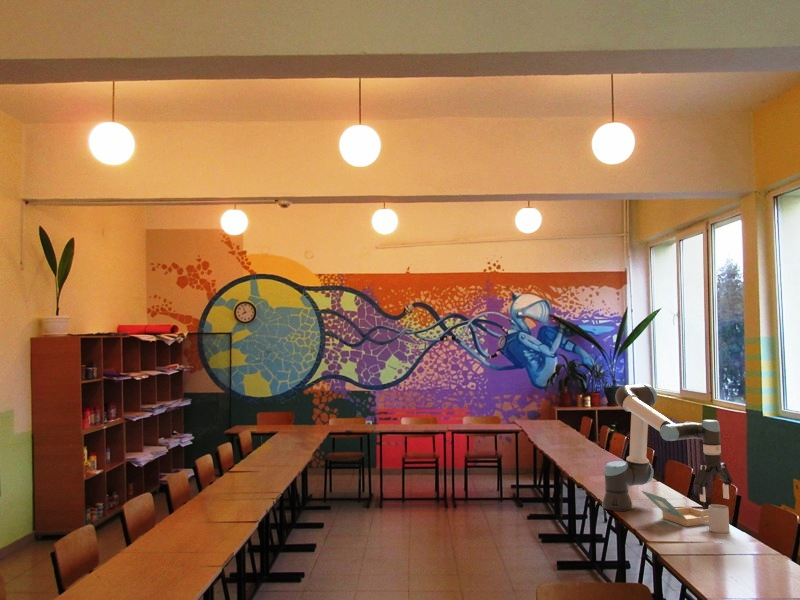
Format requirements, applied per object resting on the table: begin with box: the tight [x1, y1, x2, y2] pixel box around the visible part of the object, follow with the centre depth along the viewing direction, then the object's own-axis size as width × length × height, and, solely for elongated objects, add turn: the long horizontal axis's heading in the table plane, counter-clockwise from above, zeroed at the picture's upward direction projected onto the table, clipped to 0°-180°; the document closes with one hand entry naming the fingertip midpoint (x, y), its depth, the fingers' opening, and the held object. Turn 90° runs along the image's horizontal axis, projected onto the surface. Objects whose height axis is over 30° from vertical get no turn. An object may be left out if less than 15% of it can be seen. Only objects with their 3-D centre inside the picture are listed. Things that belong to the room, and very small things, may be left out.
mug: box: [701, 503, 730, 534], centre depth 316 cm, size 12×8×11 cm
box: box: [661, 506, 709, 528], centre depth 333 cm, size 17×17×4 cm
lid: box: [641, 490, 685, 519], centre depth 328 cm, size 16×16×1 cm
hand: (714, 500), depth 316 cm, fingers open, 13 cm apart
